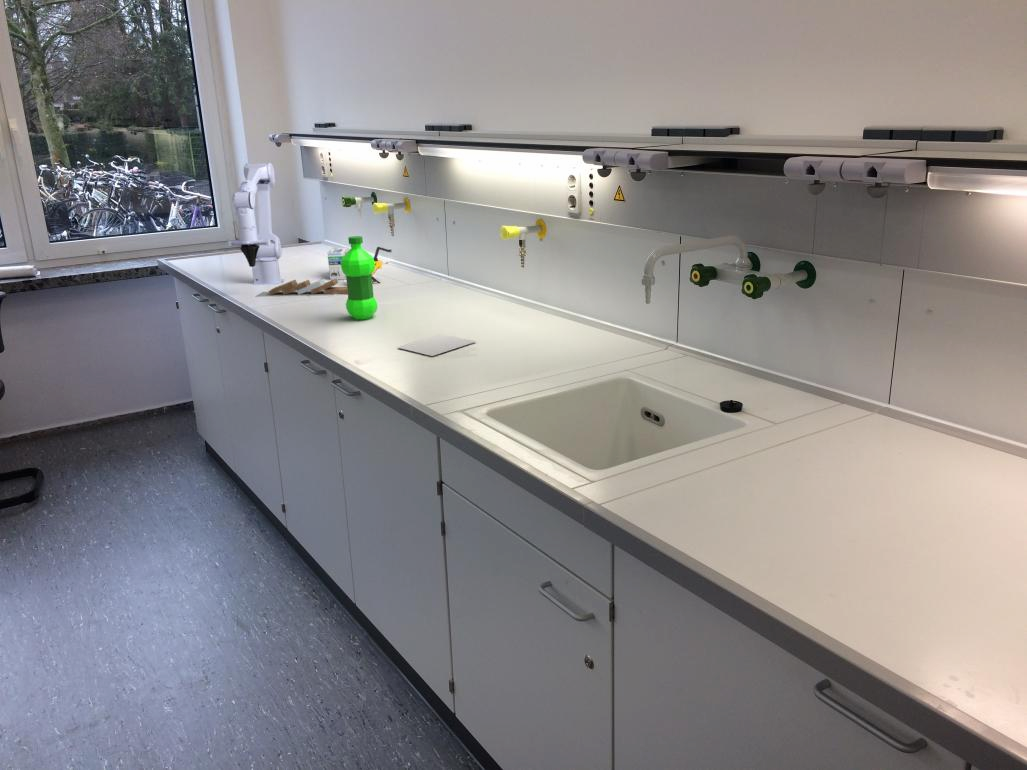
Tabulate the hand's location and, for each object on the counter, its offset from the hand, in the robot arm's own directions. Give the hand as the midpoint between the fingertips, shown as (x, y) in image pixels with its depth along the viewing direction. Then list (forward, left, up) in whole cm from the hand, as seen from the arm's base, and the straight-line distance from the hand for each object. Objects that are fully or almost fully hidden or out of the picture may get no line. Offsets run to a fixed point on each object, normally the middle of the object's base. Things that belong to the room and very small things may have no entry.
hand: (252, 266), depth 296 cm
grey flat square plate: (+77, -74, -11) cm, 107 cm away
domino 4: (+25, 0, -9) cm, 27 cm away
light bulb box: (+23, +30, -11) cm, 39 cm away
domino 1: (+6, 0, -9) cm, 11 cm away
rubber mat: (+15, 0, -10) cm, 18 cm away
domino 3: (+21, 0, -9) cm, 23 cm away
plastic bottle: (+47, -35, -11) cm, 60 cm away
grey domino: (+16, 0, -9) cm, 18 cm away
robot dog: (+38, +16, -11) cm, 43 cm away
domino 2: (+11, 0, -9) cm, 14 cm away
